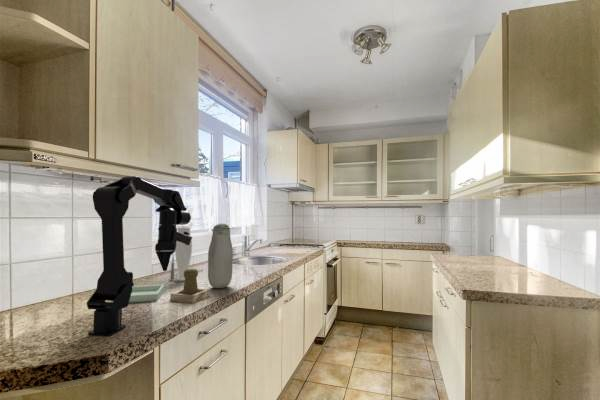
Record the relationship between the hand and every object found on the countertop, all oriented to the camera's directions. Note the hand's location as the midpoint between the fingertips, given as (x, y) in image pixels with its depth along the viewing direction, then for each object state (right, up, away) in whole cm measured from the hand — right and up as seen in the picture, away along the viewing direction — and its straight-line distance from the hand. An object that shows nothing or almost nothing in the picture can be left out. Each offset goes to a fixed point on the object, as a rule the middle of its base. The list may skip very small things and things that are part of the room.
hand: (165, 268), depth 105 cm
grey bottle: (+13, -14, +24) cm, 31 cm away
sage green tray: (-14, -13, +9) cm, 21 cm away
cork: (+6, -13, +8) cm, 16 cm away
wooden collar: (+6, -13, +8) cm, 16 cm away
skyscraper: (-9, -15, +39) cm, 42 cm away
